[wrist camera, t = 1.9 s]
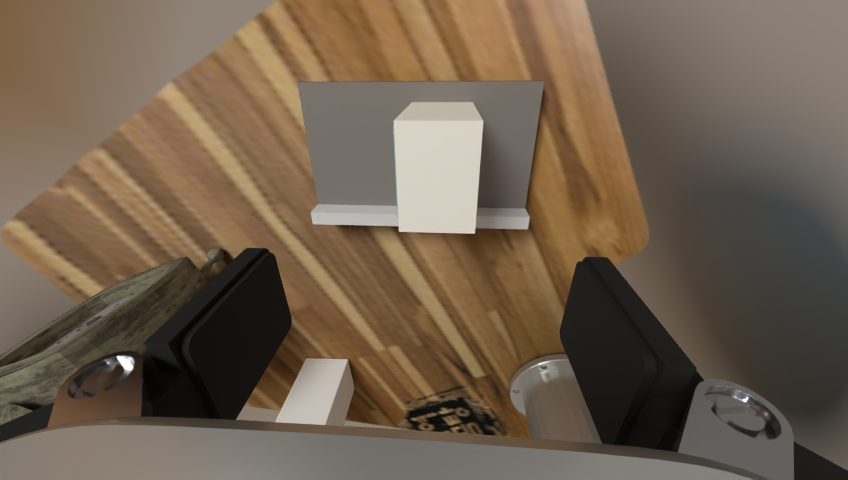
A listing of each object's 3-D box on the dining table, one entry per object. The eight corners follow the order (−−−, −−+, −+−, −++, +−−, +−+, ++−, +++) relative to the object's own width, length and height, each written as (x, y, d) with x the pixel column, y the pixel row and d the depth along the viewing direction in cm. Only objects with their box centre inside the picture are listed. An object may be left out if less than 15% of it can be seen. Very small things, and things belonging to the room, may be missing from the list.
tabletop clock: (223, 232, 36) (-121, 490, 14) (270, 294, 40) (53, 573, 18) (131, 269, 40) (-259, 522, 18) (182, 323, 44) (-89, 587, 22)
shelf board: (539, 80, 27) (551, 82, 24) (520, 215, 33) (527, 231, 30) (304, 81, 28) (286, 84, 25) (325, 211, 34) (313, 226, 31)
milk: (355, 387, 47) (290, 612, 28) (314, 386, 48) (223, 606, 29) (348, 357, 44) (271, 585, 25) (305, 357, 45) (197, 579, 26)
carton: (467, 184, 30) (474, 233, 21) (411, 183, 31) (395, 231, 22) (472, 102, 27) (483, 120, 18) (409, 102, 27) (389, 120, 18)
